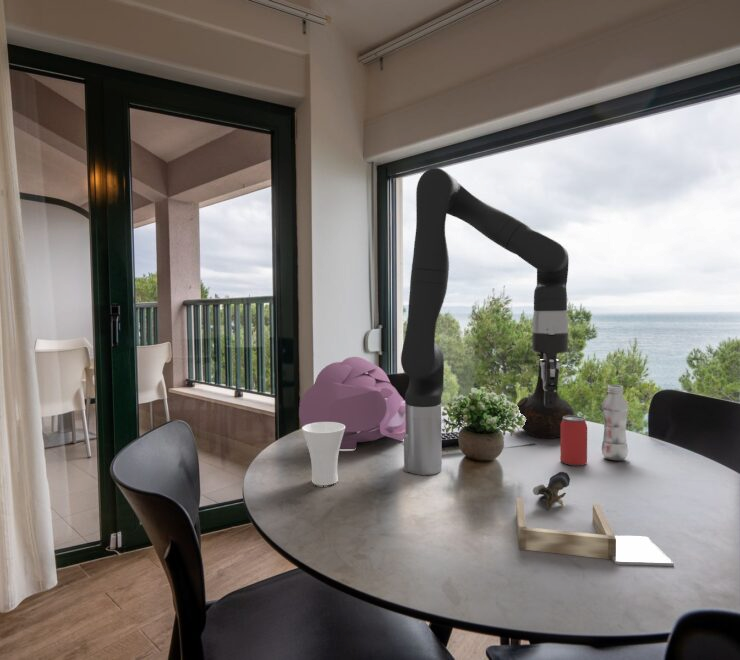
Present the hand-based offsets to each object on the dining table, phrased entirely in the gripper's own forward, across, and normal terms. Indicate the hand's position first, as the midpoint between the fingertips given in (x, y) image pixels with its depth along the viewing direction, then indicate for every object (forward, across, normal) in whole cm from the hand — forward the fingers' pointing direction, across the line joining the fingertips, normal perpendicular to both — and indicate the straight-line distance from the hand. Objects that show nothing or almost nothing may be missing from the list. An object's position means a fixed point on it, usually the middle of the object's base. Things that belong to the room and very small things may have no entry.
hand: (549, 406), depth 111 cm
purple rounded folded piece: (+19, -27, -52) cm, 62 cm away
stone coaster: (+19, +26, +11) cm, 34 cm away
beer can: (+19, -20, +8) cm, 29 cm away
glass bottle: (+19, -48, +3) cm, 51 cm away
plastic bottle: (+19, -26, +19) cm, 37 cm away
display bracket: (+19, +22, 0) cm, 29 cm away
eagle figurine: (+19, +9, 0) cm, 21 cm away
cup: (+19, +8, -52) cm, 56 cm away
